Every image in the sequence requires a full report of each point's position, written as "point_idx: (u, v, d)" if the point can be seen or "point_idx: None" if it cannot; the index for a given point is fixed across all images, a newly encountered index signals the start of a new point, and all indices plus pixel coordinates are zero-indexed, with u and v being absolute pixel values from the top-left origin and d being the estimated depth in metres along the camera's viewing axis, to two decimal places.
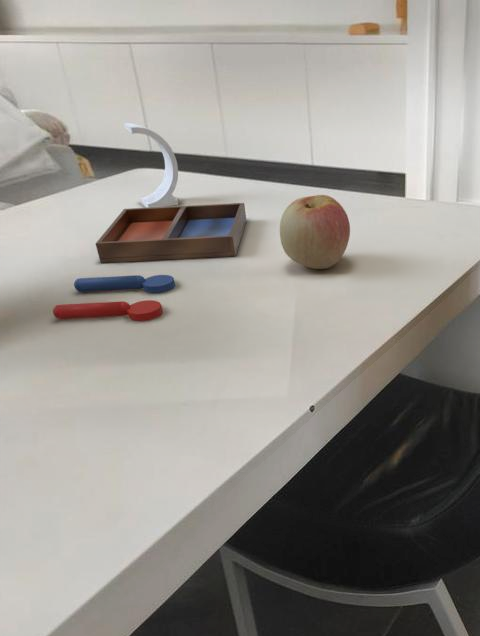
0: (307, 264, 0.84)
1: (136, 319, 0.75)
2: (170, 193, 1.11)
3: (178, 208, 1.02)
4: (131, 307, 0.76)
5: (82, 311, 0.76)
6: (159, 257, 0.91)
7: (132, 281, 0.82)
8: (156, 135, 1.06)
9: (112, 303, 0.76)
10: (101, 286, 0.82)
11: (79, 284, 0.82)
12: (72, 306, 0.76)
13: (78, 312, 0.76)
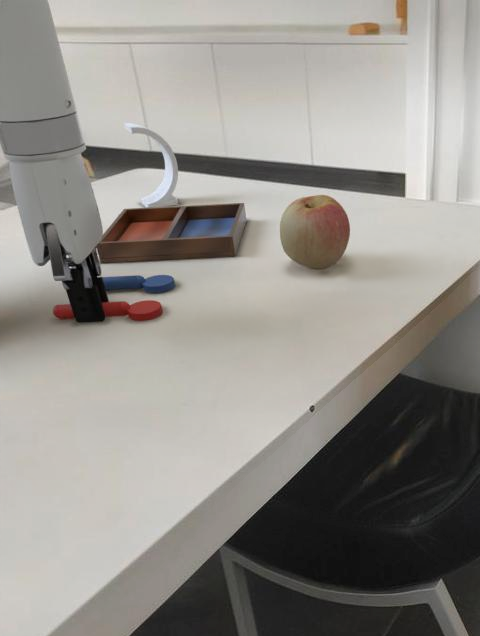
0: (307, 264, 0.84)
1: (136, 319, 0.75)
2: (170, 193, 1.11)
3: (178, 208, 1.02)
4: (131, 307, 0.76)
5: None
6: (159, 257, 0.91)
7: (132, 281, 0.82)
8: (156, 135, 1.06)
9: (112, 303, 0.76)
10: None
11: None
12: None
13: None
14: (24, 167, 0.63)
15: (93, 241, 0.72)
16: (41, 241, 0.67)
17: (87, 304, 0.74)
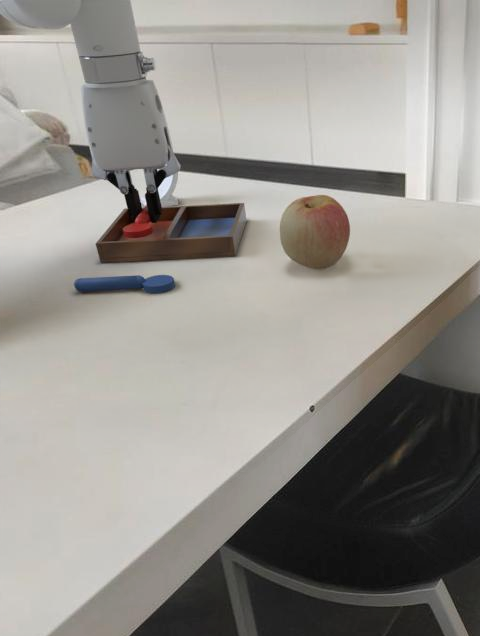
0: (307, 264, 0.84)
1: None
2: (170, 193, 1.11)
3: (178, 208, 1.02)
4: (139, 223, 0.93)
5: None
6: (159, 257, 0.91)
7: (132, 281, 0.82)
8: None
9: (139, 214, 0.94)
10: (101, 286, 0.82)
11: (79, 284, 0.82)
12: (145, 206, 0.98)
13: None
14: None
15: (130, 161, 0.91)
16: None
17: None
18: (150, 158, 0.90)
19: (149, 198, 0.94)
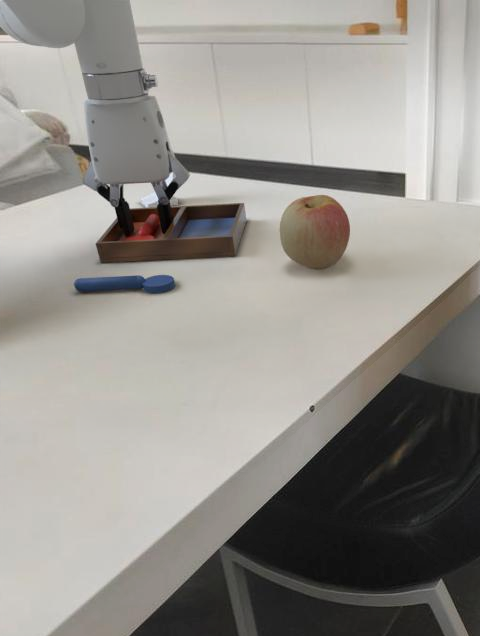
0: (307, 264, 0.84)
1: None
2: None
3: (178, 208, 1.02)
4: (142, 236, 0.94)
5: None
6: (159, 257, 0.91)
7: (132, 281, 0.82)
8: None
9: (142, 227, 0.95)
10: (101, 286, 0.82)
11: (79, 284, 0.82)
12: (148, 218, 0.99)
13: None
14: None
15: (132, 176, 0.92)
16: None
17: None
18: (152, 173, 0.92)
19: (161, 210, 0.95)
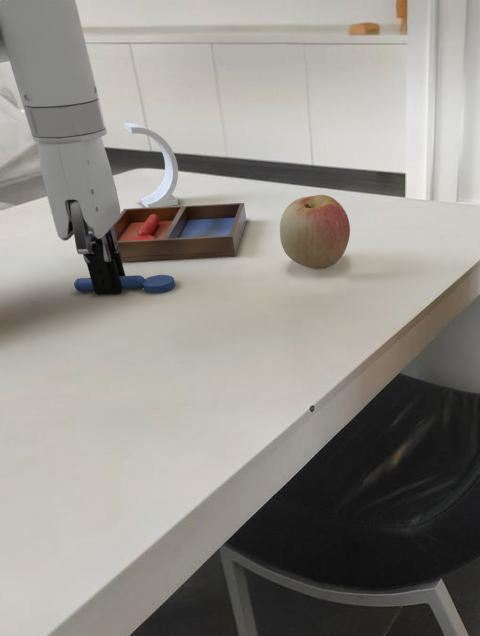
0: (307, 264, 0.84)
1: None
2: (170, 193, 1.11)
3: (178, 208, 1.02)
4: (142, 236, 0.94)
5: None
6: (159, 257, 0.91)
7: (132, 281, 0.82)
8: (156, 135, 1.06)
9: (142, 227, 0.95)
10: None
11: (79, 284, 0.82)
12: (148, 218, 0.99)
13: None
14: (51, 148, 0.69)
15: (112, 218, 0.78)
16: (66, 217, 0.73)
17: (106, 277, 0.80)
18: (117, 210, 0.80)
19: (120, 258, 0.82)
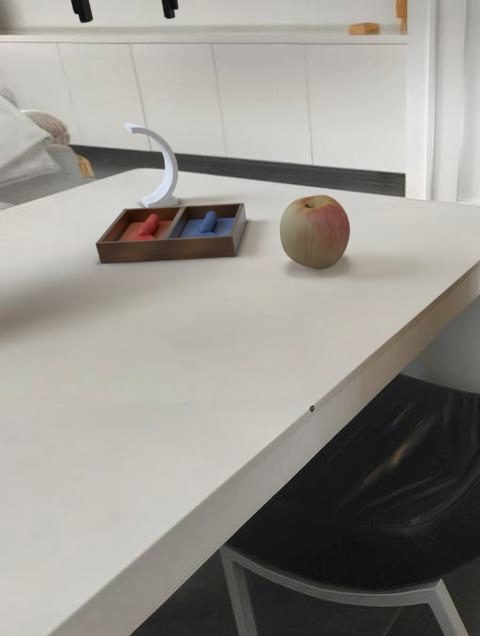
0: (307, 264, 0.84)
1: None
2: (170, 193, 1.11)
3: (178, 208, 1.02)
4: (142, 236, 0.94)
5: None
6: (159, 257, 0.91)
7: (200, 228, 0.95)
8: (156, 135, 1.06)
9: (142, 227, 0.95)
10: None
11: None
12: (148, 218, 0.99)
13: None
14: None
15: None
16: None
17: None
18: None
19: None
